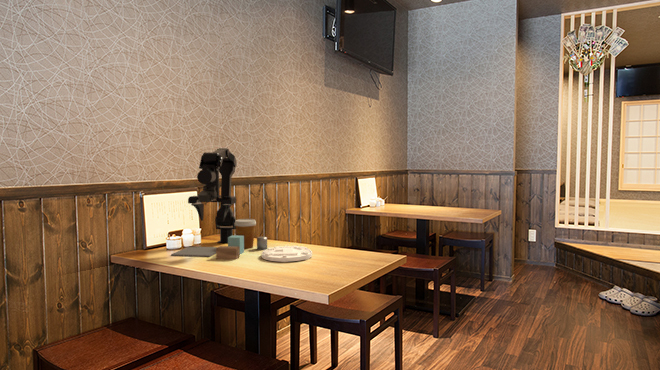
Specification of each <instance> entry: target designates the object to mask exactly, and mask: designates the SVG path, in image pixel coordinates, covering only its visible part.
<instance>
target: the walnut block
mask: <svg viewBox="0 0 660 370" xmlns="http://www.w3.org/2000/svg"><path fill="white" fill-rule="evenodd" d="M215 255H216V260H230V259H237V260H238V259H239V257H240V256H241V255H239V247H235V246H228V245H219V246H217V248H216V254H215Z"/></svg>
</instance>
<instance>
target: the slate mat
mask: <svg viewBox="0 0 660 370" xmlns="http://www.w3.org/2000/svg"><path fill="white" fill-rule="evenodd" d="M217 247H218V246H217ZM217 247H216V246H194V245H193V246H189V245H188V246H187V247H185V248H182V249H180V250H177V251H176V252H173V253H171V254H170V257H171V256H172V257H197V258H199V257H200V258H211V257H212V256H214V255H216V248H217Z"/></svg>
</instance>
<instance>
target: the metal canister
mask: <svg viewBox="0 0 660 370" xmlns="http://www.w3.org/2000/svg"><path fill="white" fill-rule="evenodd" d="M267 249H268V237H267V236H258V237H256V250H258V251H263V250H267Z"/></svg>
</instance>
